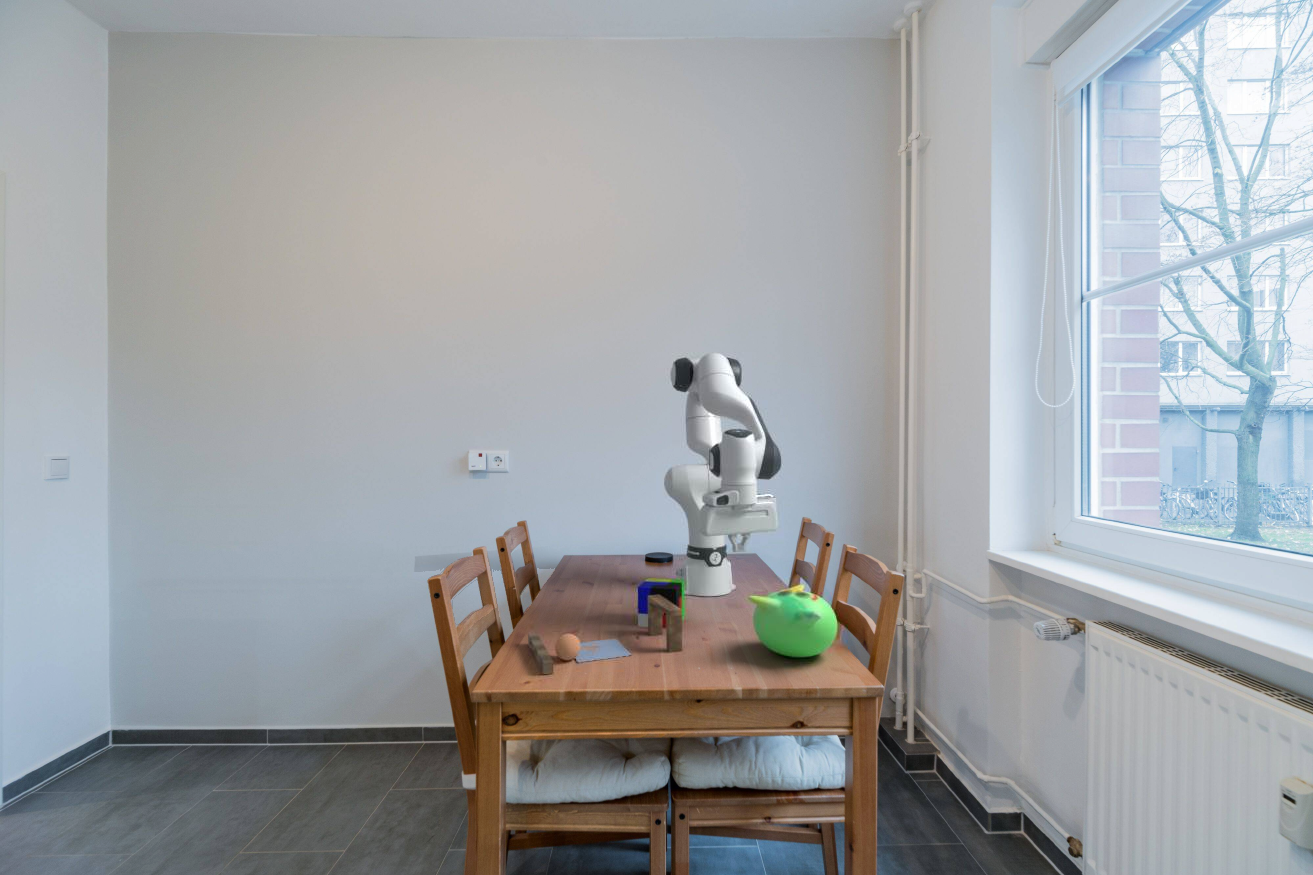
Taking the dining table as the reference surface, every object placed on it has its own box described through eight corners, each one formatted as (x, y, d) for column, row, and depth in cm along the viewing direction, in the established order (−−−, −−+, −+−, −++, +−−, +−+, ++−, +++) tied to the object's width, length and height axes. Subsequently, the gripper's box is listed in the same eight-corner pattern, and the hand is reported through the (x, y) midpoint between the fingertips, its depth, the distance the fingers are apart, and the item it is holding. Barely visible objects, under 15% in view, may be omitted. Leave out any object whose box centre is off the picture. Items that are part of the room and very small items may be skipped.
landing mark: (566, 645, 147) (566, 644, 147) (616, 639, 151) (616, 638, 151) (577, 663, 136) (577, 662, 136) (631, 655, 140) (631, 654, 140)
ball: (579, 645, 142) (555, 656, 140) (573, 625, 140) (549, 635, 139) (586, 658, 137) (562, 669, 135) (580, 637, 136) (555, 647, 134)
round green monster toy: (845, 649, 142) (845, 583, 142) (824, 675, 127) (823, 601, 127) (768, 637, 151) (767, 575, 151) (740, 660, 136) (739, 591, 136)
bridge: (669, 652, 142) (669, 610, 142) (648, 633, 155) (647, 595, 155) (682, 650, 143) (681, 609, 143) (659, 631, 156) (659, 594, 156)
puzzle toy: (638, 626, 161) (637, 587, 161) (648, 615, 171) (647, 578, 171) (676, 629, 159) (676, 588, 159) (684, 617, 168) (684, 579, 168)
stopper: (528, 644, 148) (528, 633, 148) (537, 643, 149) (536, 632, 149) (543, 675, 129) (543, 662, 129) (553, 673, 130) (553, 661, 130)
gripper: (770, 491, 163) (770, 545, 164) (696, 496, 156) (696, 552, 157) (782, 494, 157) (782, 550, 158) (706, 499, 150) (706, 557, 151)
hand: (739, 551), depth 157 cm, fingers closed
